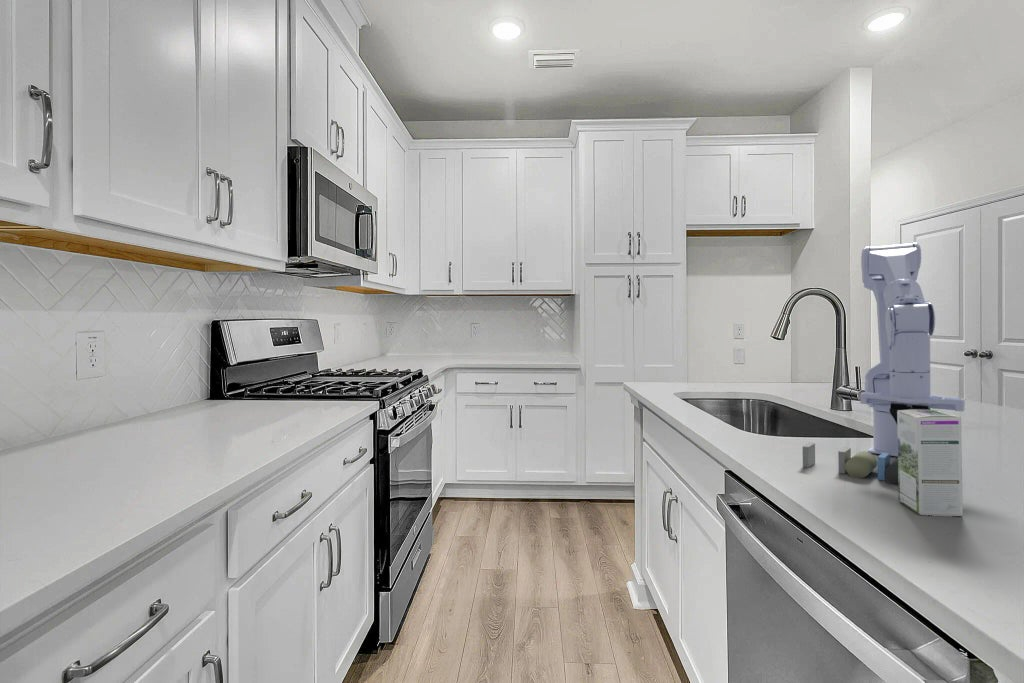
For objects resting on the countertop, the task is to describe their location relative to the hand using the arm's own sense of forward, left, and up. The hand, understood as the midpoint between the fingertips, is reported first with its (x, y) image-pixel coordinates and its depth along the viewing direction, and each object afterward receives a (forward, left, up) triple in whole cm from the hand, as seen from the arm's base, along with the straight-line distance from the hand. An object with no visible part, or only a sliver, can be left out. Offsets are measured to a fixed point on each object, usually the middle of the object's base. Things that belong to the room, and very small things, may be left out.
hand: (909, 447), depth 91 cm
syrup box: (+18, +5, -5) cm, 19 cm away
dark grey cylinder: (+3, 0, -5) cm, 6 cm away
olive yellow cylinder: (+4, -6, -5) cm, 9 cm away
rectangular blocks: (+4, -6, -5) cm, 9 cm away
